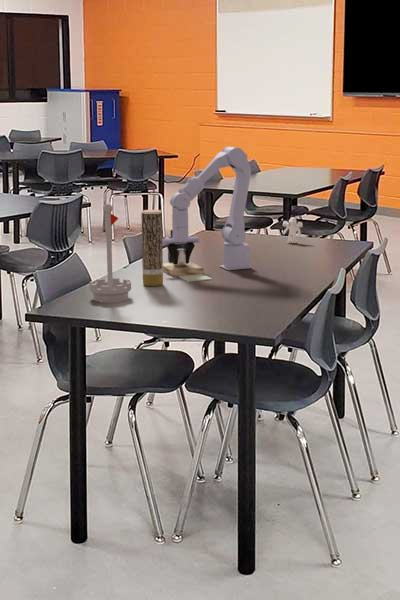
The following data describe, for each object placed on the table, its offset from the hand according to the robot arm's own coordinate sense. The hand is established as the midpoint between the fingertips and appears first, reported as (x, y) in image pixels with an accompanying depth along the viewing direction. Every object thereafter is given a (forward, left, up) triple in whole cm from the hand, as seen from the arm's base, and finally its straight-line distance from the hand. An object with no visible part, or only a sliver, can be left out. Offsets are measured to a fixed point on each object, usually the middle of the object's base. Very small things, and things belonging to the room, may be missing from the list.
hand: (180, 263), depth 324 cm
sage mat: (0, +14, -3) cm, 14 cm away
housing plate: (0, 0, -3) cm, 3 cm away
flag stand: (+36, +32, -3) cm, 48 cm away
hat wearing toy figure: (-66, -39, -3) cm, 77 cm away
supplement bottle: (-6, -20, -3) cm, 21 cm away
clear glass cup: (0, 0, -3) cm, 3 cm away
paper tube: (+17, +18, -3) cm, 25 cm away
